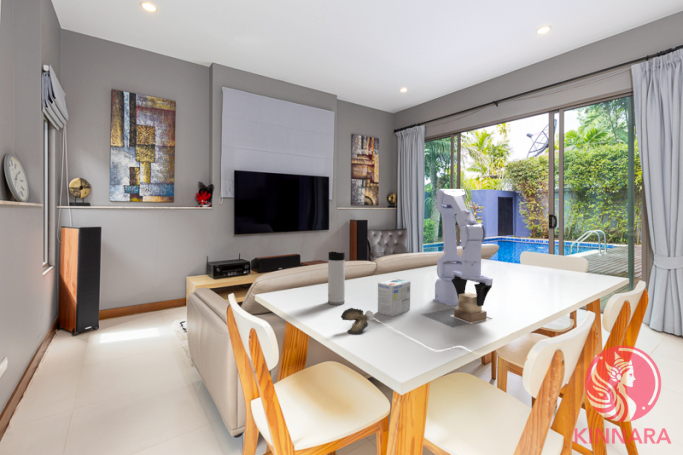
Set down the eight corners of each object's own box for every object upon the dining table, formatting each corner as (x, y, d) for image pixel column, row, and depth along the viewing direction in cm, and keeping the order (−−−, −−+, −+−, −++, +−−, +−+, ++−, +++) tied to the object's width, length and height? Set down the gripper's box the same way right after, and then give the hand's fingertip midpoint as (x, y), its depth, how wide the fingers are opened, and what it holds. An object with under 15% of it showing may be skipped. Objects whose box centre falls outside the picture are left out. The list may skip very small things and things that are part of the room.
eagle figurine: (350, 318, 102) (335, 321, 95) (362, 301, 101) (348, 302, 94) (366, 336, 99) (352, 340, 91) (380, 318, 97) (367, 321, 90)
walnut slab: (454, 316, 108) (454, 308, 107) (468, 313, 111) (469, 306, 111) (471, 322, 101) (471, 314, 101) (486, 319, 105) (486, 311, 105)
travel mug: (325, 304, 122) (325, 251, 121) (332, 300, 128) (332, 249, 127) (340, 306, 119) (340, 252, 118) (346, 301, 125) (347, 250, 125)
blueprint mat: (420, 315, 109) (421, 314, 109) (459, 308, 118) (459, 307, 118) (454, 329, 97) (454, 327, 97) (494, 320, 105) (494, 318, 105)
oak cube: (458, 309, 107) (458, 294, 107) (468, 307, 109) (469, 292, 109) (470, 313, 103) (471, 297, 102) (481, 311, 105) (481, 295, 105)
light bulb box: (395, 307, 119) (395, 278, 118) (410, 311, 114) (411, 280, 114) (376, 313, 111) (377, 282, 111) (392, 318, 107) (393, 285, 106)
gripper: (445, 259, 110) (444, 298, 110) (482, 265, 97) (480, 310, 98) (460, 257, 113) (459, 296, 114) (497, 264, 100) (496, 307, 101)
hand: (470, 302), depth 106 cm, fingers open, 7 cm apart
